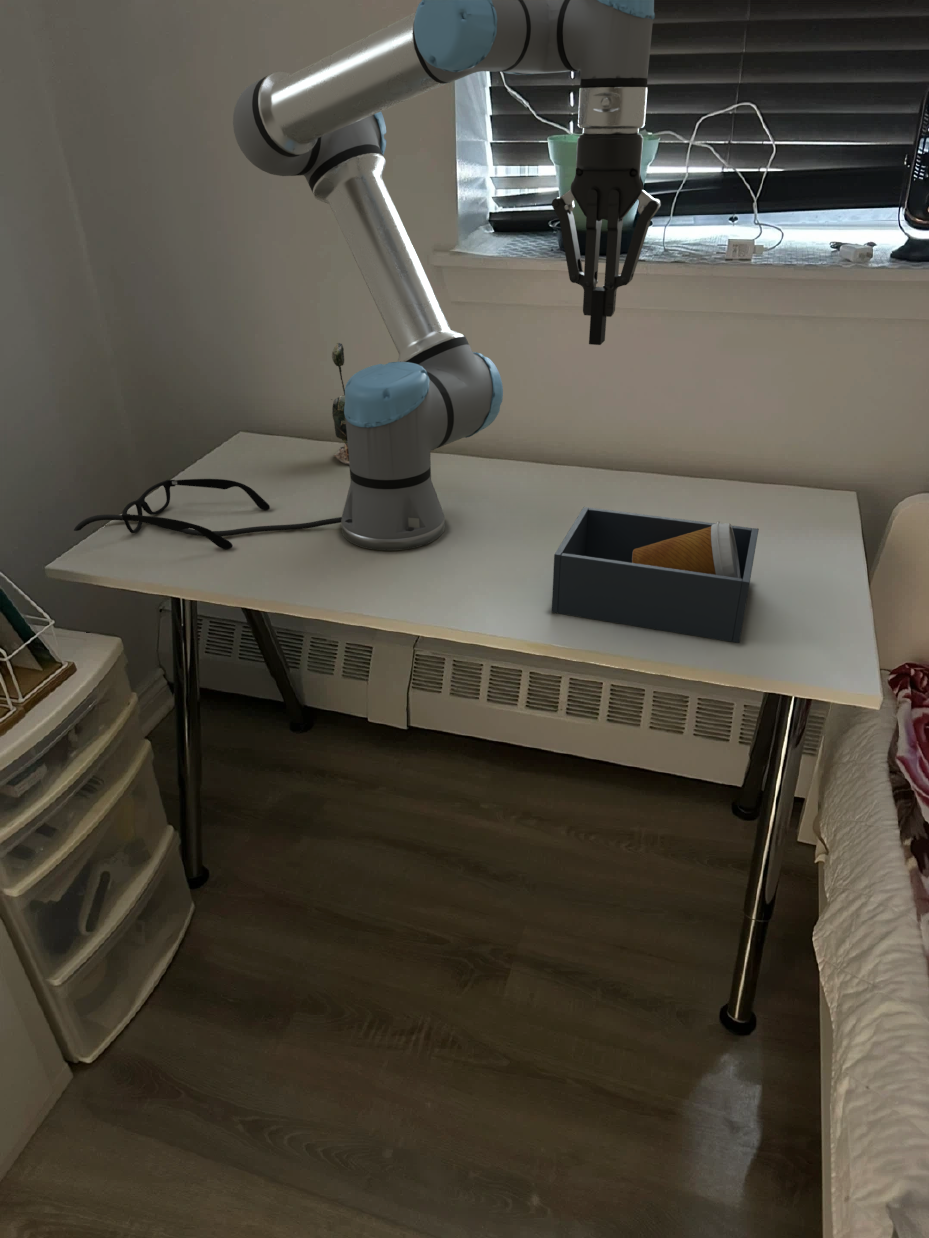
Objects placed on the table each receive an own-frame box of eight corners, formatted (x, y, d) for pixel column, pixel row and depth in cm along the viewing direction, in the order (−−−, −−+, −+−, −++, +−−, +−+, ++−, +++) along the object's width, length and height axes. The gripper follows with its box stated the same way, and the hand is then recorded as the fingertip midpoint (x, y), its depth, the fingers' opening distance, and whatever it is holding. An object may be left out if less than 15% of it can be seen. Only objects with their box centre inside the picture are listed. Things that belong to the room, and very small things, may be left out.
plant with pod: (322, 469, 155) (311, 352, 145) (342, 447, 165) (334, 337, 155) (366, 472, 154) (359, 355, 144) (385, 450, 163) (379, 339, 153)
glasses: (169, 505, 143) (162, 476, 141) (272, 507, 140) (267, 477, 137) (116, 548, 129) (107, 517, 127) (229, 552, 126) (223, 519, 123)
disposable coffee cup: (638, 617, 109) (738, 603, 104) (624, 541, 107) (725, 524, 103) (650, 602, 117) (743, 589, 113) (637, 531, 116) (731, 515, 111)
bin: (551, 612, 110) (554, 554, 106) (580, 560, 123) (583, 506, 119) (739, 643, 103) (749, 582, 99) (749, 584, 116) (758, 528, 112)
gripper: (546, 132, 100) (539, 345, 112) (662, 132, 96) (642, 352, 108) (563, 131, 106) (554, 333, 118) (672, 131, 103) (652, 339, 114)
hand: (596, 342), depth 113 cm, fingers closed
